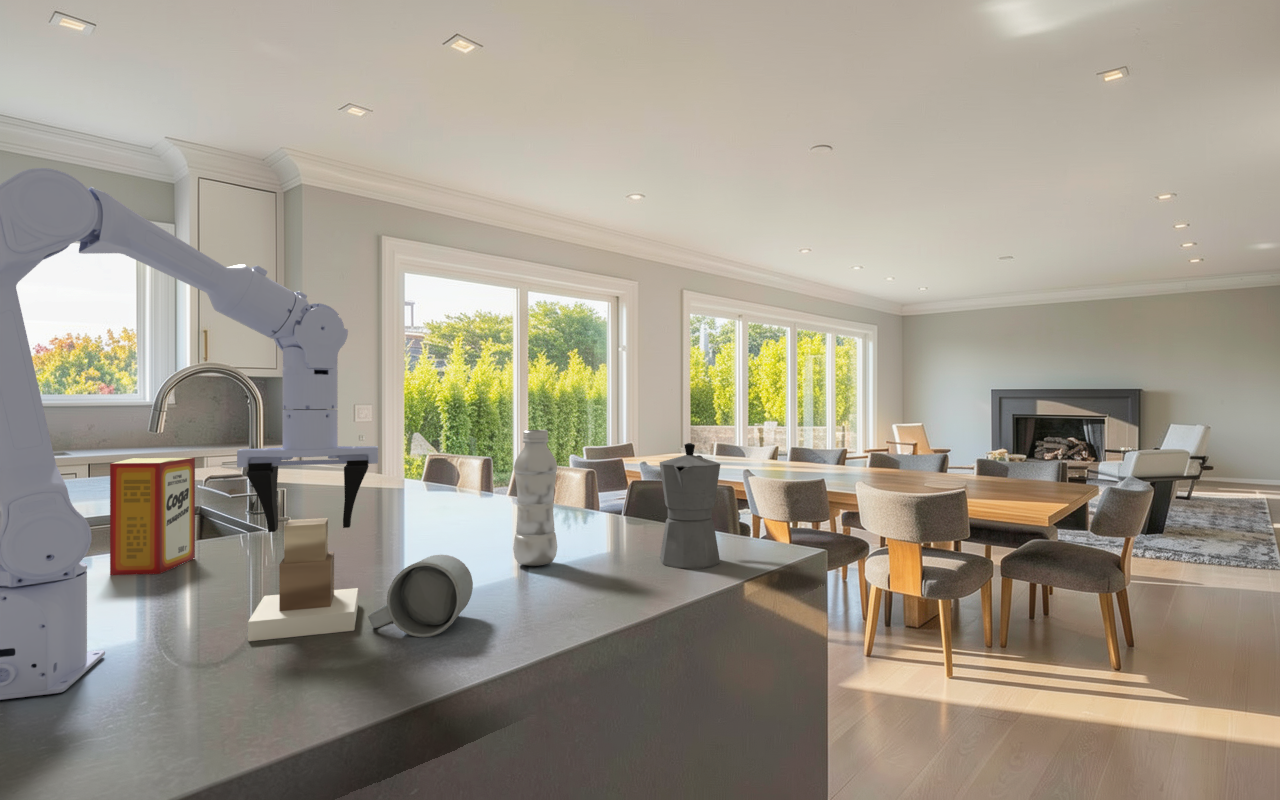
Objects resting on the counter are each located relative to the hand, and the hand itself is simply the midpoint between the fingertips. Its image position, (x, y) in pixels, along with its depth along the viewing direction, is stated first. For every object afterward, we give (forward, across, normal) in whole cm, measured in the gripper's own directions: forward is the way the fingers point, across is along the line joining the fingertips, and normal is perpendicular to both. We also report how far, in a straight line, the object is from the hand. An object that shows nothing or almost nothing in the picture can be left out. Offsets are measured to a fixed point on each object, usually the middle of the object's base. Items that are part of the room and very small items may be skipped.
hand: (310, 528), depth 81 cm
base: (+10, 0, +3) cm, 10 cm away
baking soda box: (+10, +24, -33) cm, 42 cm away
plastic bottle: (+10, -29, -15) cm, 34 cm away
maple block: (+3, 0, +3) cm, 4 cm away
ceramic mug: (+10, -12, +9) cm, 18 cm away
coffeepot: (+10, -52, -10) cm, 54 cm away
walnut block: (+8, 0, +3) cm, 8 cm away
